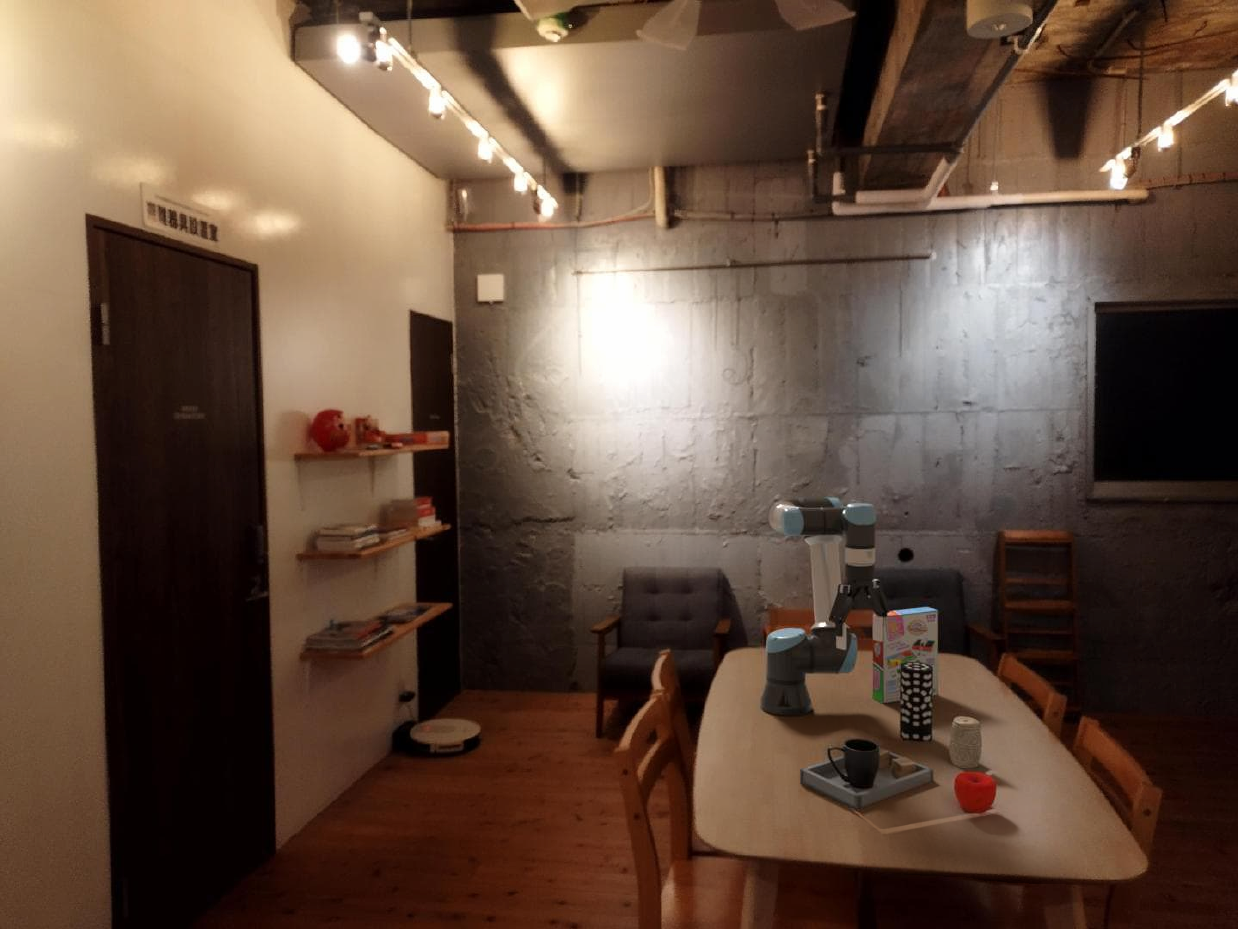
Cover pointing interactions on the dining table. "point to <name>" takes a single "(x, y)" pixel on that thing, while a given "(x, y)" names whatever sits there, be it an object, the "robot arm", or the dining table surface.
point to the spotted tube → (916, 701)
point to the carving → (965, 742)
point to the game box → (904, 649)
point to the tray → (835, 788)
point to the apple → (975, 791)
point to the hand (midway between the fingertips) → (859, 644)
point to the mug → (858, 762)
